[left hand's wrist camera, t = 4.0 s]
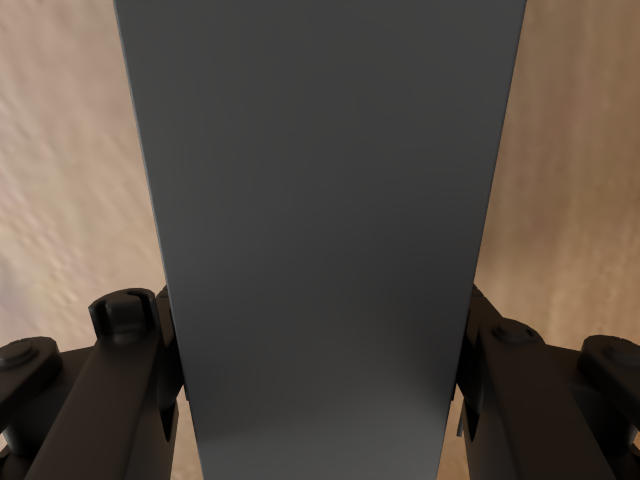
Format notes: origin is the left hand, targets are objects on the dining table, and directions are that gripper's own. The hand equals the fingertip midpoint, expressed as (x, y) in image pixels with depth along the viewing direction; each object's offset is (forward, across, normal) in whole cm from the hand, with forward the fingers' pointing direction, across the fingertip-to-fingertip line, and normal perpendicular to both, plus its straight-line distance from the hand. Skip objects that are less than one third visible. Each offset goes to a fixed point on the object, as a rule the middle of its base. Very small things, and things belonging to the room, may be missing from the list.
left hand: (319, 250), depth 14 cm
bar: (0, 0, -7) cm, 7 cm away
